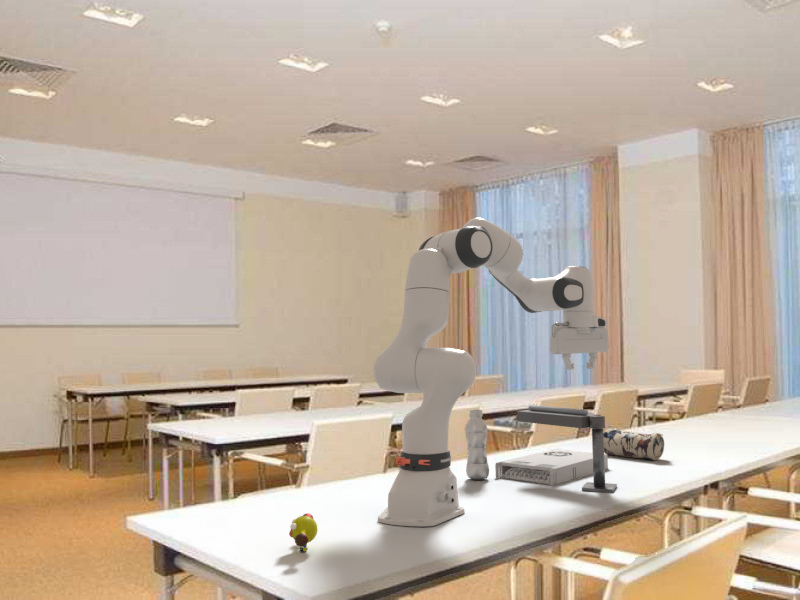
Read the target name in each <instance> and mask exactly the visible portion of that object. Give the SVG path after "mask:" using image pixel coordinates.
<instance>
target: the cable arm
mask: <svg viewBox="0 0 800 600" xmlns="http://www.w3.org/2000/svg"><path fill="white" fill-rule="evenodd" d="M516 421H517V422H520V423H529V424H537V425H538V424H540V425H548V426H558V427H567V428H577V429H588V428H589V429H592V428H594V429H606V417H605V415H602V414H595V413H589V411H588V409H584V408H583V409H582V408H570V407H560V406H546V405H537V404H536V405H535V404H530V405H528V409H525V410H523V409H522V410H516Z"/></svg>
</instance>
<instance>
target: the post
mask: <svg viewBox="0 0 800 600" xmlns="http://www.w3.org/2000/svg"><path fill="white" fill-rule="evenodd" d="M591 437H592V438H591V442H592V443H591V445H592V453H593V473H592V474H593V475H592V477H593V482H590V481H589V482H588V481H587V482H585V484H584V485H582V487H581V491H582V492H593V493H594V492H596V493H611V494H613V493H615V491H616V489H617V488H618V483H607V482H606V469H605V463H604V454H605V452H604V428H602V429H594V428H591Z"/></svg>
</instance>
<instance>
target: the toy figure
mask: <svg viewBox="0 0 800 600" xmlns="http://www.w3.org/2000/svg"><path fill="white" fill-rule="evenodd" d="M289 527H290V530H289V536H290V538H293V540H294V543H295V544H296V545H297V546H298V547H299V552H300V553H307V550H308V543H310V542H312V541H313V540H314V539H315V538H316V536H317V534H318V524H317V521H315V519H314V516H313V515H312V514H311V513H304V514H303V515H302V516H301V515H300V516H298V517H296V518H294V519H292V520H291V524H290V526H289Z"/></svg>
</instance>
